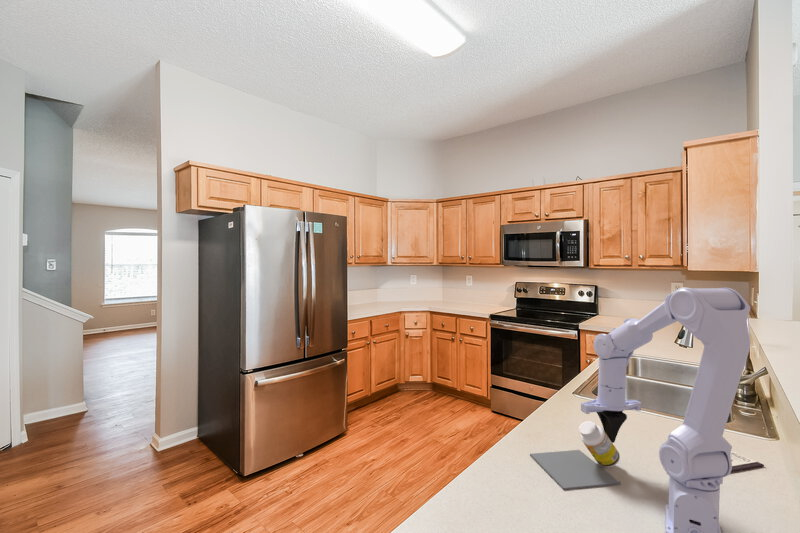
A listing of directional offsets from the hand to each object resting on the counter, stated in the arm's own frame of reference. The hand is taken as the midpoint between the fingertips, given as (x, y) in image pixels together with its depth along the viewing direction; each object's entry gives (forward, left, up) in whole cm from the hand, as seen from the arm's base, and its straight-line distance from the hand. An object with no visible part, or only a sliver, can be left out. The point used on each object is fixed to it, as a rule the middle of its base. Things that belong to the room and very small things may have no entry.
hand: (609, 440), depth 88 cm
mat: (-7, +7, -6) cm, 12 cm away
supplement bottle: (0, 0, -4) cm, 4 cm away
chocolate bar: (+17, -21, -7) cm, 28 cm away
